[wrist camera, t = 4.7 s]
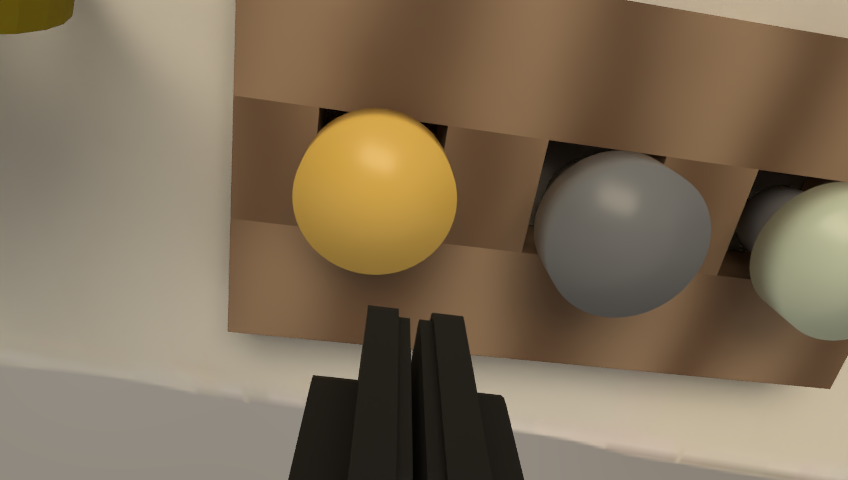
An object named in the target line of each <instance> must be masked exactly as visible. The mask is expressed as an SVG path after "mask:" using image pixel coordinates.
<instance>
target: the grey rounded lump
mask: <svg viewBox="0 0 848 480" xmlns="http://www.w3.org/2000/svg"><path fill="white" fill-rule="evenodd" d="M710 239H711V220H710V215H709V211H708V207H707V205H706V203H705V201H704V199H703V197H702V196H701V194H700V193H699V191H698V190H697V189H696V188H695V187H694V186H693V185H692V184H691V183H690V182H688V181H687V180H686V179H685V178H683V177H682V176H680V175H679V174H677V173H676V172H674V171H673V170H671V169H670V168H668V167H667V166H665V165H664V164H662V163H661V162H659V161H657V160H656V159H654V158H652V157H650V156H648V155H645V154H642V153H638V152H634V151H624V150H618V151H608V152H602V153H598V154H595V155H592V156H589V157H587V158H585V159H579V160H575V161H572V162H570V163H568V164H566V165H565V166H563V167H562V168H560V169H559V170H558V171H557V172H556V173H555V174H554V176H553V177H552V178H551V180H550V181H549V184H548V186H547V189H546V192H545V194H544V196H543V198H542V200H541V202H540V204H539V207H538V210H537V213H536V217H535V222H534V241H535V246H536V250H537V253H538V255H539V257H540V260H541V261H542V263H543V265H544V267H545V269H546V270H547V272H548V274H549V276H550V278H551V280H552V281H553V283H554V285H555V286H556V288H557V290H558V291H559V292H560V294H561V295H562V296H563V297H564V298H565V299H566V300H567V301H568V302H569V303H571V304H572V305H573V306H575V307H577V308H578V309H580V310H582V311H584V312H587V313H589V314H593V315H596V316H602V317H611V318H620V317H629V316H635V315H639V314H642V313H646V312H648V311H651V310H653V309H655V308H658V307H659V306H661V305H663V304H665V303H667V302H668V301H669V300H671V299H672V298H674V297H675V296H676V295H678V294H679V293H680V292H681V291H682V290H683V289H684V288H685V287H686V286H687V285H688V284H689V283H690V282H691V281H692V279H693V278H694V277H695V275H696V274H697V272H698V271H699V269H700V268H701V266H702V264H703V262H704V260H705V257H706V255H707V252H708V248H709V244H710Z"/></svg>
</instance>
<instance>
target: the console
mask: <svg viewBox="0 0 848 480" xmlns="http://www.w3.org/2000/svg"><path fill="white" fill-rule="evenodd" d="M366 108H382V109H389V110H394V111H398V112H401V113H403V114H406V115H408V116H410V117H412V118H414V119H416V120H417V121H419V122H425V123H432V124H438V128H437V134H436V138H437V139H438V141H439V142H440V144H441V145H442V147H443V149H444V151H445V153H446V156H447V158H448V161H449V164H450V167H451V170H452V173H453V176H454V179H455V183H456V190H457V207H456V213H455V217H454V221H453V224H452V226H451V228H450V231H449V233H448V234H447V236H446V238H445V239H444V241H443V242H442V243H441V245H440V246H439V247H438V248H437V249H436V250H435V251H434V252H433V253H432V254H431V255H430V256H428V257H427V258H426V259H425V260H423V261H422V262H420V263H418V264H417V265H415V266H412V267H410V268H408V269H406V270H402V271H399V272H395V273H390V274H381V275H370V274H362V273H356V272H352V271H349V270H346V269H343V268H341V267H339V266H336V265H335V264H333V263H331V262H330V261H328V260H326V259H325V258H324V257H322V256H321V255H320V254H319V253H318V252H317V251H316V250H315V249H314V248H313V247H312V246H311V245H310V244H309V242H308V241H307V240H306V239H305V237H304V235H303V234H302V232H301V230H300V228H299V226H298V223H297V221H296V217H295V214H294V209H293V202H292V191H293V184H294V179H295V176H296V172H297V170H298V167H299V165H300V163H301V161H302V159H303V157H304V154H305V152H306V150H307V148H308V146H309V144H310V143H311V141H312V140H313V138H314V137H315V136H316V135H317V133H318V132H319V131H320V130H321V129H322V128H323V127H324V126H325V114H326V109H333V110H340V111H347V112H352V111H355V110H360V109H366ZM549 140H553V141H560V142H567V143H574V144H581V145H588V146H595V147H602V148H609V149H616V150H624V151H634V152H638V153H642V154H645V155H648V156H650V157H652V158H654V159H656V160H657V161H659V162H661V163H662V164H664V165H665V166H667V167H668V168H670V169H671V170H673V171H674V172H676V173H677V174H679V175H680V176H682V177H683V178H685V179H686V180H687V181H688V182H690V183H691V184H692V185H693V186H694V187H695V188H696V189H697V190H698V191H699V193H700V194H701V196H702V197H703V199H704V201H705V203H706V205H707V207H708V211H709V215H710V220H711V239H710V244H709V248H708V252H707V255H706V257H705V260H704V262H703V264H702V266H701V268H700V269H699V271H698V272H697V274H696V275H695V277H694V278H693V279H692V281H691V282H690V283H689V284H688V285H687V286H686V287H685V288H684V289H683V290H682V291H681V292H680V293H679V294H678V295H676V296H675V297H674V298H672V299H671V300H669V301H668V302H667V303H665V304H663V305H661V306H659V307H658V308H655V309H653V310H651V311H648V312H646V313H642V314H639V315H635V316H629V317H620V318H611V317H602V316H596V315H593V314H589V313H587V312H584V311H582V310H580V309H578V308H577V307H575V306H573V305H572V304H571V303H569V302H568V301H567V300H566V299H565V298H564V297H563V296H562V295H561V294H560V292H559V291H558V290H557V288H556V286H555V285H554V283H553V281H552V280H551V278H550V276H549V274H548V272H547V270H546V269H545V267H544V265H543V263H542V261H541V260H540V257H539V255H538V253H537V250H536V246H535V241H534V226H529V225H528V224H529V220H530V216H531V212H532V208H533V204H534V200H535V196H536V191H537V187H538V183H539V179H540V175H541V171H542V167H543V163H544V159H545V154H546V150H547V146H548V142H549ZM759 170H765V171H772V172H779V173H786V174H794V175H801V176H807V178H806V180H805V183H804V185H803V187H802V190H801V191H803V192H804V191H807V190H809V189H811V188H814V187H816V186H820V185H823V184H827V183H833V182H844V181H845V182H848V39H847V38H841V37H836V36H830V35H824V34H818V33H812V32H807V31H801V30H795V29H789V28H784V27H778V26H772V25H766V24H760V23H755V22H749V21H743V20H737V19H731V18H726V17H720V16H714V15H708V14H702V13H697V12H691V11H685V10H679V9H673V8H668V7H662V6H656V5H650V4H645V3H639V2H633V1H627V0H236V19H235V60H234V100H233V141H232V182H231V223H230V263H229V304H228V332H238V333H248V334H259V335H269V336H279V337H290V338H300V339H311V340H321V341H332V342H342V343H353V344H363V339H364V332H365V324H366V317H367V309H368V305H373V306H381V307H390V308H398V309H399V317H404V318H410V337H411V349H414V343H415V337H416V331H417V326H418V322H419V319H422V320H430V317H431V314H432V313H441V314H449V315H457V316H463V317H464V321H465V327H466V333H467V338H468V344H469V350H470V355H479V356H489V357H500V358H510V359H521V360H531V361H542V362H552V363H563V364H573V365H584V366H594V367H605V368H615V369H626V370H636V371H647V372H657V373H668V374H678V375H689V376H699V377H710V378H720V379H731V380H741V381H752V382H762V383H773V384H783V385H794V386H804V387H815V388H825V389H830V388H831V386H832V384H833V382H834V380H835V378H836V377H837V375H838V373H839V371H840V369H841V367H842V365H843V363H844V361H845V360H846V358H847V356H848V339H847V340H836V341H832V340H821V339H816V338H813V337H810V336H808V335H806V334H804V333H802V332H800V331H799V330H797V329H796V328H795V327H794V326H792V325H791V324H790V323H789V322H788V321H787V320H785V319H784V318H783V317H782V316H781V315H779V314H778V313H777V312H776V311H775V310H774V309H772V308H771V307H770V306H769V305H768V304H767V303H765V302H764V301H763V300H762V299H761V298H760V297H759V295H758V294H757V292H756V291H755V289H754V287H753V284H752V281H751V277H750V257H751V253H748V252H740V251H732V250H727V249H728V246H729V244H730V241H731V239H732V236H733V234H734V231H735V229H736V226H737V224H738V221H739V219H740V216H741V213H742V211H743V208H744V206H745V203H746V201H747V198H748V196H749V193H750V191H751V188H752V186H753V183H754V181H755V178H756V176H757V173H758V171H759Z"/></svg>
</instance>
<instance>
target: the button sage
mask: <svg viewBox="0 0 848 480" xmlns="http://www.w3.org/2000/svg"><path fill="white" fill-rule="evenodd" d="M736 235H737V238H738V240H739V242H740V244H741V245H742V246H743V247H744V248H745V249H746V250H748V251H749V252H751V257H750V277H751V281H752V284H753V287H754V289H755V291H756V292H757V294H758V295H759V297H760V298H761V299H762V300H763V301H764V302H765V303H767V304H768V305H769V306H770V307H771V308H772V309H774V310H775V311H776V312H777V313H778V314H779V315H781V316H782V317H783V318H784V319H785V320H787V321H788V322H789V323H790V324H791V325H792V326H794V327H795V328H796V329H797V330H799V331H800V332H802V333H804V334H806V335H808V336H810V337H813V338H816V339H821V340H832V341H836V340H847V339H848V182H845V181H844V182H833V183H827V184H823V185H820V186H816V187H814V188H811V189H809V190H807V191H804V192H803V191H801V190H799V189H797V188H795V187H793V186H788V185H777V186H772V187H769V188H766V189H764V190H762V191H760V192H758V193H757V194H756V195H754V196H753V197H752V198H751V199H750V200H749V201H748V202H747V203H746V204H745V206H744V208H743V211H742V213H741V216H740V219H739V221H738V224H737V226H736Z"/></svg>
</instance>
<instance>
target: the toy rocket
mask: <svg viewBox="0 0 848 480" xmlns="http://www.w3.org/2000/svg"><path fill="white" fill-rule="evenodd" d="M73 6H74V0H0V34H19V33H26V32H33V31H41V30H47V29H50V28H52V27H55V26H58V25H61V24H64V23H65V22H66V21H67V20H68V19H70V18H71V17H72V14H73Z"/></svg>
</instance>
